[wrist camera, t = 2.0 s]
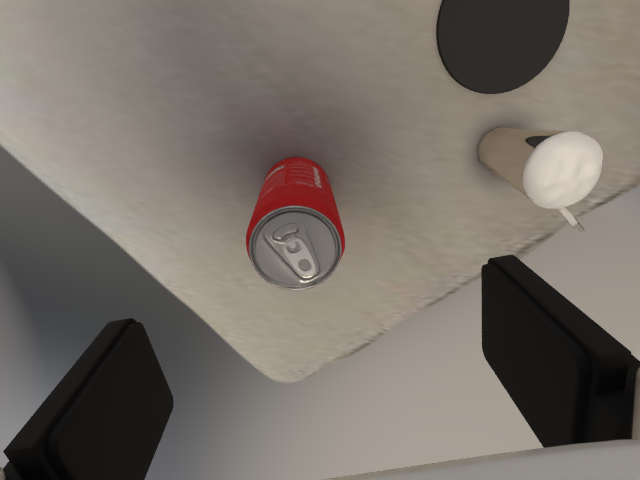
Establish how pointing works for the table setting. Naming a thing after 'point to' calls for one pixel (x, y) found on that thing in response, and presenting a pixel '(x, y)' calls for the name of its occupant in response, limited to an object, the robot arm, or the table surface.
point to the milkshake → (544, 165)
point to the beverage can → (295, 226)
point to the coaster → (499, 40)
